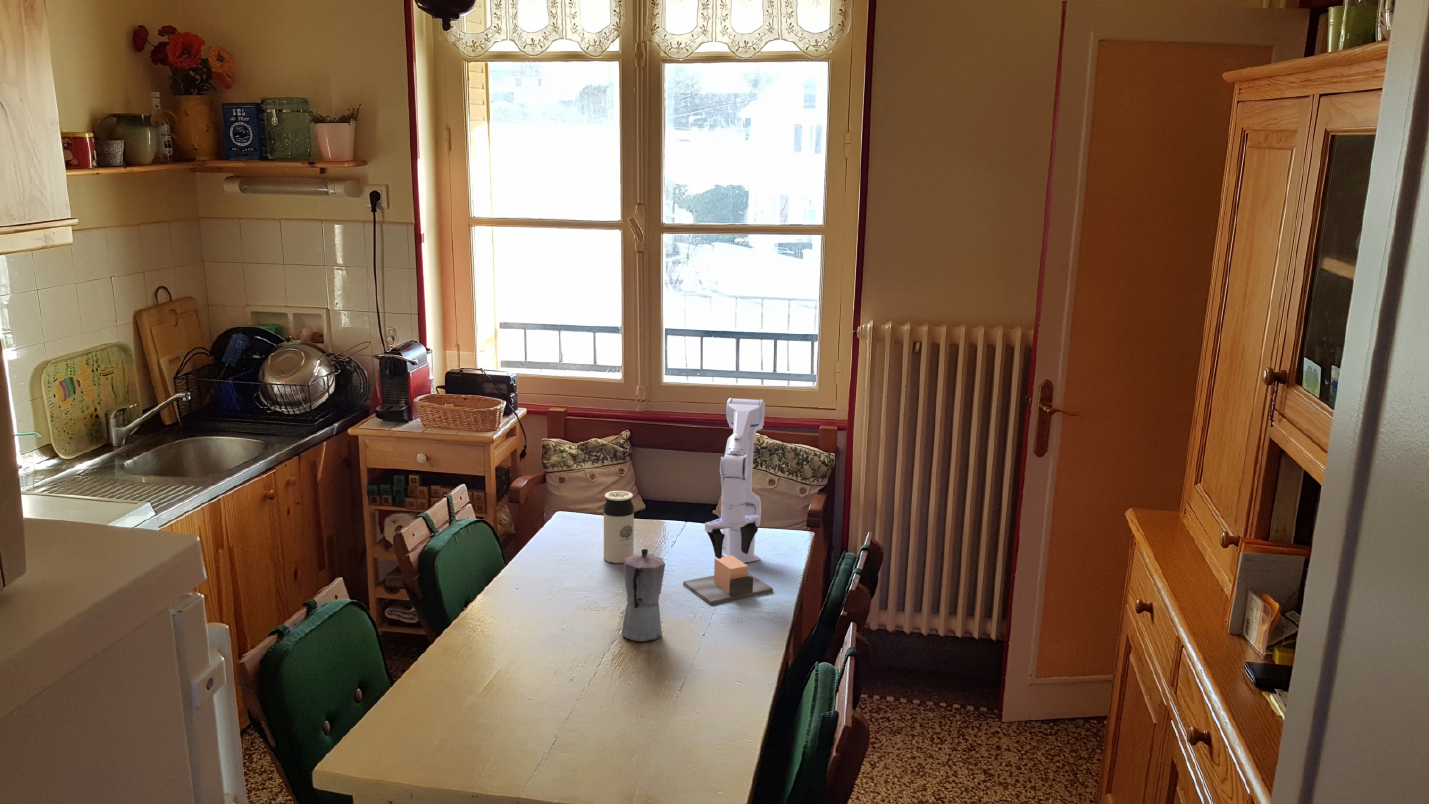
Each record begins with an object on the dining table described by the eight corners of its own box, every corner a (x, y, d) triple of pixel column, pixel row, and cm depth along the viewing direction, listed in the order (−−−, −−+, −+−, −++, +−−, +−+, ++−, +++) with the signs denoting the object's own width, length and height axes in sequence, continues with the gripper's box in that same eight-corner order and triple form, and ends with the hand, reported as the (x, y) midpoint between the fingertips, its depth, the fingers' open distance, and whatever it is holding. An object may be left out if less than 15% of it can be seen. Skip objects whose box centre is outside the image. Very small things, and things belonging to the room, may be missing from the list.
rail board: (683, 585, 264) (683, 566, 263) (744, 573, 273) (744, 555, 272) (710, 605, 252) (710, 585, 251) (773, 592, 261) (773, 573, 260)
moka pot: (668, 622, 242) (669, 540, 238) (658, 652, 227) (659, 565, 223) (627, 620, 243) (628, 538, 239) (614, 649, 228) (615, 562, 224)
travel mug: (599, 555, 283) (599, 492, 279) (627, 551, 286) (627, 488, 282) (609, 565, 276) (609, 500, 272) (637, 561, 279) (638, 497, 275)
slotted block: (714, 582, 264) (714, 558, 262) (731, 579, 266) (731, 555, 265) (729, 594, 257) (730, 569, 255) (747, 590, 259) (748, 565, 258)
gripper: (715, 511, 250) (714, 564, 253) (766, 503, 257) (764, 555, 260) (701, 503, 256) (700, 555, 259) (751, 495, 263) (750, 546, 266)
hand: (731, 555), depth 260 cm, fingers open, 7 cm apart
